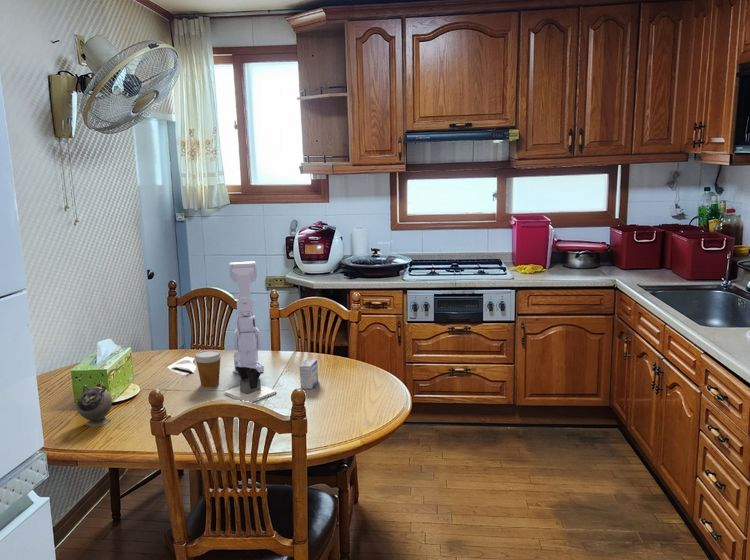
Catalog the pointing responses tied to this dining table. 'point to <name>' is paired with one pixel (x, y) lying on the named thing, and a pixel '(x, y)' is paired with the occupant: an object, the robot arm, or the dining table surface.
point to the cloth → (183, 366)
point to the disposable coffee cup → (208, 367)
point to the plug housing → (248, 386)
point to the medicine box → (309, 374)
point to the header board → (252, 396)
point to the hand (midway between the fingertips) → (250, 386)
